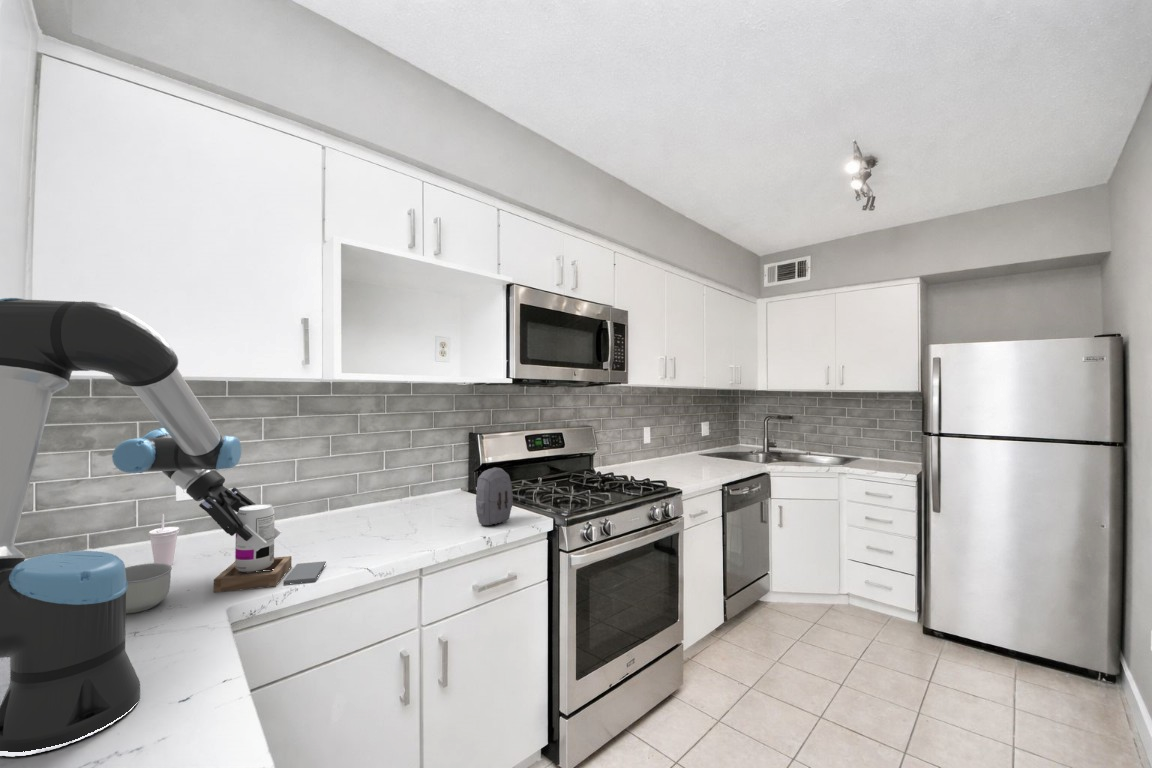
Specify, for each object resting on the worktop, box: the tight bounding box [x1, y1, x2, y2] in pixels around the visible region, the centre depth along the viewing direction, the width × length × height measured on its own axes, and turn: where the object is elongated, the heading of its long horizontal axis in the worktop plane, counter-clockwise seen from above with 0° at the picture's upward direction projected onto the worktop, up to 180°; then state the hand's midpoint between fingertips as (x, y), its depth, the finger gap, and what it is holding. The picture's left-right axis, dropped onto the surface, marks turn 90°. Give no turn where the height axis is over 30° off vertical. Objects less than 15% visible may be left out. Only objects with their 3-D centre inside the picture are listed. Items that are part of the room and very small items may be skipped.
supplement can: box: [234, 503, 276, 572], centre depth 123 cm, size 8×8×15 cm
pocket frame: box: [213, 555, 292, 593], centre depth 123 cm, size 13×13×3 cm
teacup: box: [125, 562, 173, 614], centre depth 106 cm, size 14×11×8 cm
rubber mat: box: [282, 560, 327, 585], centre depth 126 cm, size 12×7×1 cm, turn 16°
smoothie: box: [148, 513, 180, 567], centre depth 132 cm, size 6×6×14 cm
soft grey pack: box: [475, 467, 514, 526], centre depth 173 cm, size 15×8×20 cm, turn 142°
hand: (269, 541), depth 124 cm, fingers closed on supplement can, 8 cm apart
